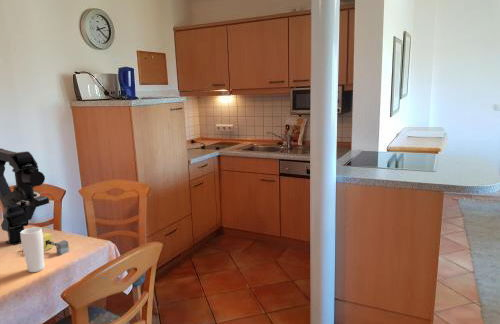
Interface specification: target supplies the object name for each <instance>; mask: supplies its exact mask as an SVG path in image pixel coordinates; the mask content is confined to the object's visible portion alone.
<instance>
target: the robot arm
mask: <svg viewBox="0 0 500 324" xmlns="http://www.w3.org/2000/svg"><path fill="white" fill-rule="evenodd" d="M7 163H8V166H10V167H12V172H14V180H15V186H13V191H11V187H10V186H9V183H8V181H7V179H6V177H5V175H4V174H5V171H6V164H7ZM45 177H46V176H45V175H44V173H43V172H41V171H39V166H38V162H37V161H36V160H35V158H34V156H33V154H32V153H31V152H29V151H19V152H18V151H17V152H16V151H12V150H8V149H4V148H0V202H1V204H2V206H3V208H4V210H3V211H4V212H3V215H2V217H3V220H2V222H1V225H0V227H1V230H2V231H5V232H7V236H8V240H6V241H5V243H6V244H9V245H18V244H20V243H21V236H20V232H21V231H22V230H24V229H25V227H28V226H29V221H31V220H32V219H33V216H34V213H35V210H36V209H37V208H38V207H40V206H44V205H47V204H50V198H49V197H48V196H43V195H39V196H38V195H37V193H35V190H34V188H35V187H40V186H42V185H43V184H44V183H45V180H46V179H45ZM21 244H22V243H21Z"/></svg>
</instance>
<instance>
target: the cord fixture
mask: <svg viewBox="0 0 500 324" xmlns="http://www.w3.org/2000/svg"><path fill="white" fill-rule="evenodd" d="M68 241H69V240H65V239H63V240H61V241H58V242H57V241H53V242H51V241H45V242H46V244H50V245H53V247H54V246H55V248H56V254H57V255H61V256H62V255H64V254H66V253H69V252H70V248H69V242H68Z"/></svg>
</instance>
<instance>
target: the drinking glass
mask: <svg viewBox="0 0 500 324" xmlns="http://www.w3.org/2000/svg"><path fill="white" fill-rule="evenodd" d="M43 233H44V232H43V229H42V227H39V226H33V227H28V228H24V230H22V231H21V232H20V236H21V247H22V251H23V255H24V259H25V263H26V268H27V271H28V272H29V273H37V272H40V271H43V270H44V269H45V256H44V255H45V251H44V243H43Z"/></svg>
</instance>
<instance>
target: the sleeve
mask: <svg viewBox="0 0 500 324" xmlns="http://www.w3.org/2000/svg"><path fill="white" fill-rule="evenodd" d="M42 233H43V243H44V252H45V251H48V250H49V249H52V248H54V246H53V245H50V244H46V242H45V241H51V242H54V241H53V234H52V233H48V232H47V233H46V232H42Z"/></svg>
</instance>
